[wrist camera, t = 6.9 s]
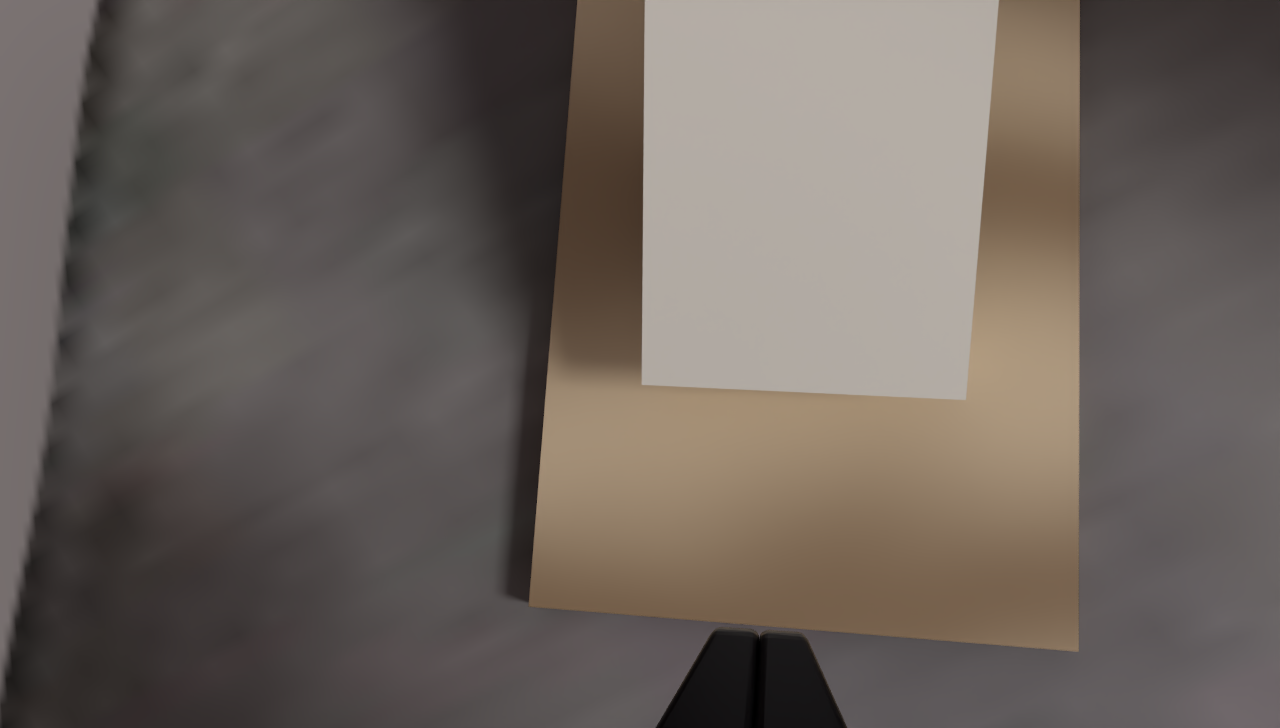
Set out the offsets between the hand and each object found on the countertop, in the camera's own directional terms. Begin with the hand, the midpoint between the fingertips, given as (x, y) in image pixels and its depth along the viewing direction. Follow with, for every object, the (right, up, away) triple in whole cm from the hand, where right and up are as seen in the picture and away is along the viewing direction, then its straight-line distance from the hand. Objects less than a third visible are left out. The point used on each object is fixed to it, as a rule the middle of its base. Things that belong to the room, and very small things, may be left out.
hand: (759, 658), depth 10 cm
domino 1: (+2, +2, +7) cm, 8 cm away
